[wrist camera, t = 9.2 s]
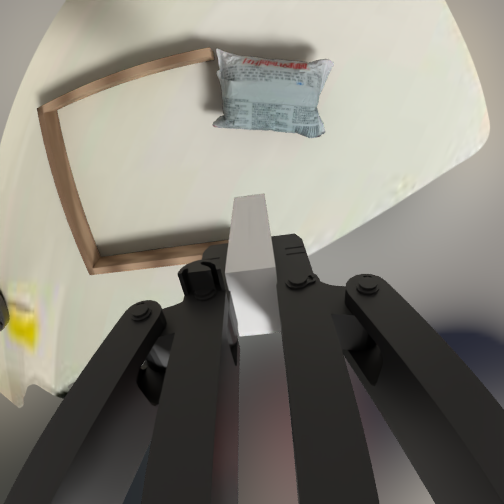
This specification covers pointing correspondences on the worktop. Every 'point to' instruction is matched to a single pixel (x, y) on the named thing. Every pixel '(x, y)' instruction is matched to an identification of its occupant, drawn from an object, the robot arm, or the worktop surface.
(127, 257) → the wooden frame
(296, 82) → the packaged food
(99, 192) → the worktop surface
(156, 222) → the worktop surface
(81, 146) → the worktop surface
